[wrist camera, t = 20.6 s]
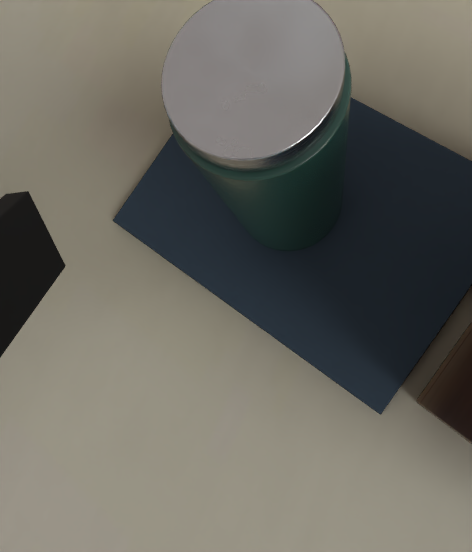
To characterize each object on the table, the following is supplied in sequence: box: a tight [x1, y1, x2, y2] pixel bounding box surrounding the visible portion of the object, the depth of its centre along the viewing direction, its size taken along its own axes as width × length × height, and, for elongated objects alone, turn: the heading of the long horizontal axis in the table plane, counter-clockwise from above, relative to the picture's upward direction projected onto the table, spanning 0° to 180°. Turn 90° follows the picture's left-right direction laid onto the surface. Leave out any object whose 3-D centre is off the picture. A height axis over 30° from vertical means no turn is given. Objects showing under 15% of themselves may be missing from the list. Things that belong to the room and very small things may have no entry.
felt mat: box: [113, 98, 472, 414], centre depth 24 cm, size 18×13×1 cm
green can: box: [161, 0, 351, 251], centre depth 18 cm, size 6×6×12 cm
